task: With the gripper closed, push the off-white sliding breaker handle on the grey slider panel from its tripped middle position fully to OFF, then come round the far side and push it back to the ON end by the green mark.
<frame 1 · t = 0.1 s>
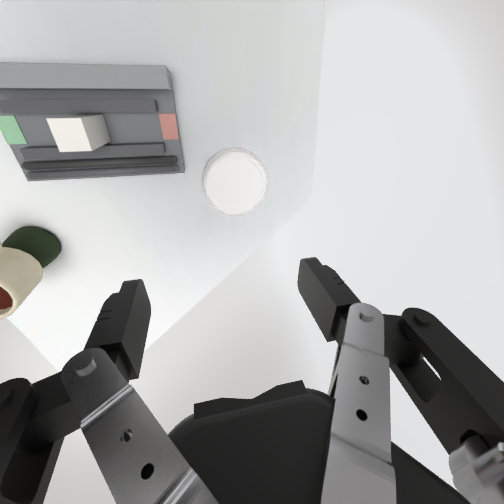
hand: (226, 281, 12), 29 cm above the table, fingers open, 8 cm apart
breaker handle: (83, 131, 27), point 6 cm above the table, slide at 6.0 cm
grey slider panel: (99, 126, 31), on the table
character mug: (39, 241, 38), on the table
white round disc: (233, 179, 39), on the table
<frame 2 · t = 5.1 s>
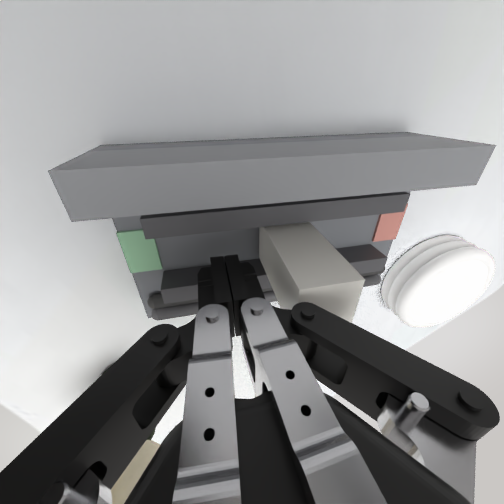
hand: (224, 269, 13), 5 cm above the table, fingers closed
breaker handle: (298, 265, 14), point 6 cm above the table, slide at 6.2 cm, touching gripper
grey slider panel: (268, 223, 18), on the table
character mug: (134, 374, 25), on the table
white round disc: (419, 272, 26), on the table
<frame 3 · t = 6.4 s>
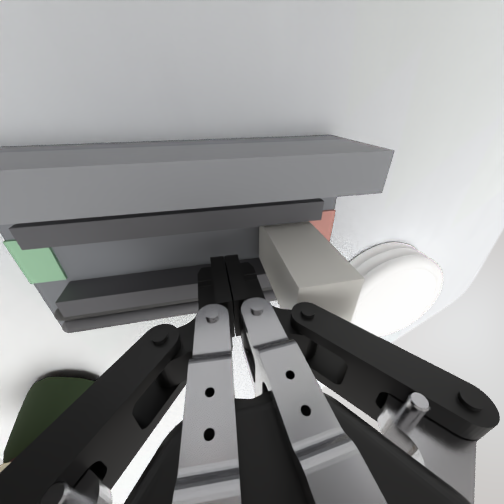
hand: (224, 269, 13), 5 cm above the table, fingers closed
breaker handle: (298, 264, 14), point 6 cm above the table, slide at 12.0 cm, touching gripper
grey slider panel: (191, 230, 17), on the table
character mug: (72, 385, 24), on the table
white round disc: (371, 280, 25), on the table
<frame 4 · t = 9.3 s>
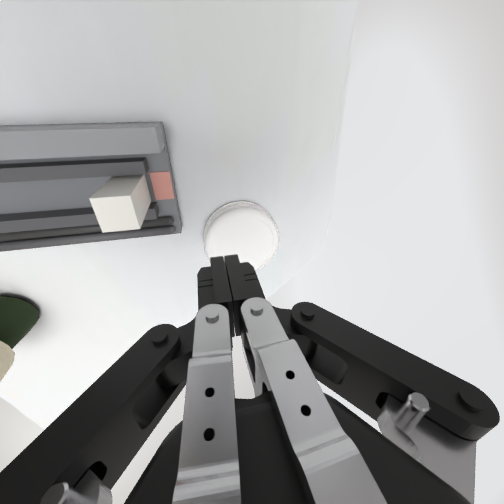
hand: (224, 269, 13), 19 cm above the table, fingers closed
breaker handle: (125, 199, 22), point 6 cm above the table, slide at 12.0 cm
grey slider panel: (79, 186, 26), on the table
character mug: (14, 308, 33), on the table
white round disc: (239, 232, 34), on the table
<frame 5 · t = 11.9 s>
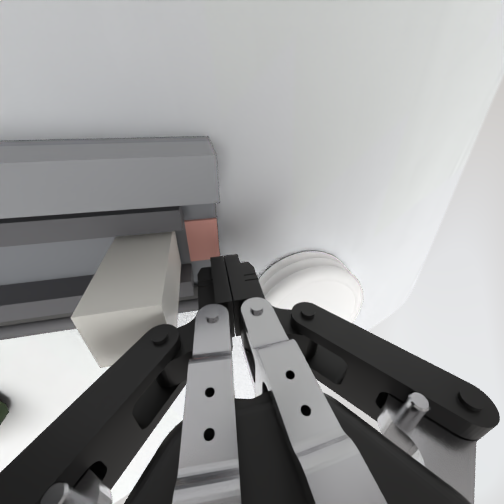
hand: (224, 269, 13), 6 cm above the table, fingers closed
breaker handle: (143, 281, 12), point 6 cm above the table, slide at 11.8 cm, touching gripper
grey slider panel: (65, 238, 16), on the table
white round disc: (297, 290, 24), on the table
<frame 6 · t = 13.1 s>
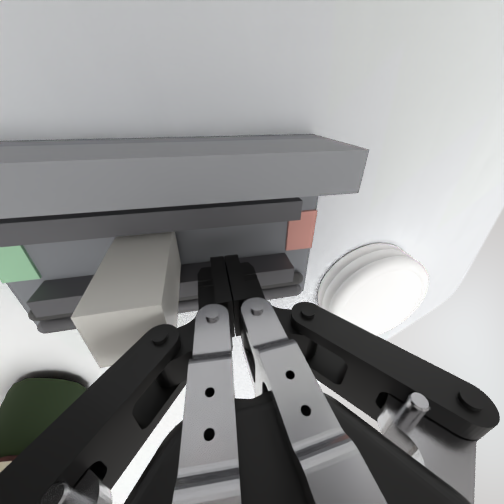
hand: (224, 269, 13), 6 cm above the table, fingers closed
breaker handle: (143, 281, 12), point 6 cm above the table, slide at 4.9 cm, touching gripper
grey slider panel: (172, 229, 17), on the table
character mug: (54, 386, 23), on the table
white round disc: (359, 281, 25), on the table
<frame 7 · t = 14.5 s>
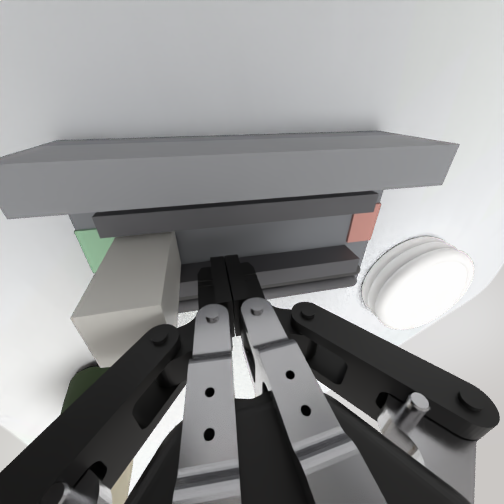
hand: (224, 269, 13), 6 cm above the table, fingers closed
breaker handle: (143, 281, 12), point 6 cm above the table, slide at 0.0 cm, touching gripper
grey slider panel: (240, 222, 18), on the table
character mug: (110, 375, 24), on the table
white round disc: (400, 273, 26), on the table
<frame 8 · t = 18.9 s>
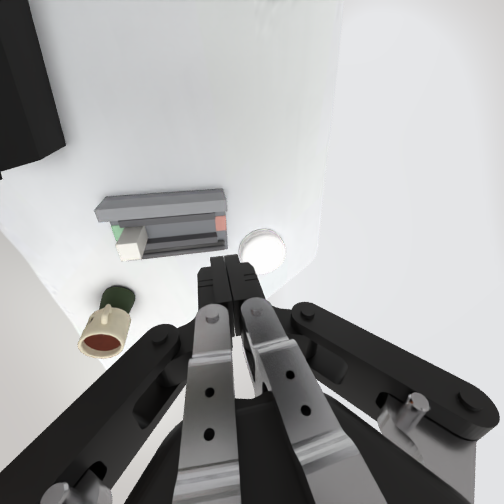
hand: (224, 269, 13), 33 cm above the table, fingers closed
breaker handle: (133, 241, 40), point 6 cm above the table, slide at 0.0 cm
grey slider panel: (172, 223, 46), on the table
character mug: (120, 294, 52), on the table
white round disc: (260, 247, 53), on the table
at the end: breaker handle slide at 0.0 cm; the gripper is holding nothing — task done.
